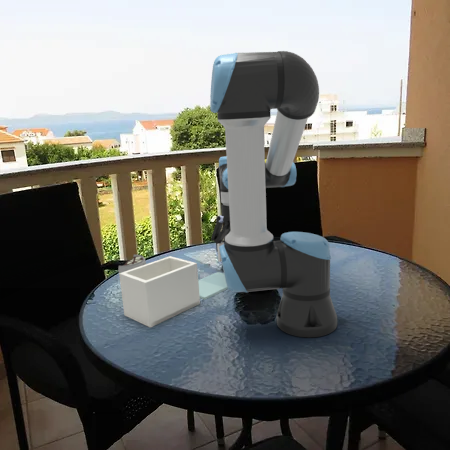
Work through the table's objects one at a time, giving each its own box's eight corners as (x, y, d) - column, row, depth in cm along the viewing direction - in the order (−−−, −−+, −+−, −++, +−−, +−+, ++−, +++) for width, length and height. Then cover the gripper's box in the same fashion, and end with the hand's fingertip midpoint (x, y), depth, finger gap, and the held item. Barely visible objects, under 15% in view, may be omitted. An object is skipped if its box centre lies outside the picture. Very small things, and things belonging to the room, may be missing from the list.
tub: (200, 303, 120) (196, 263, 117) (150, 327, 108) (145, 282, 105) (173, 294, 128) (170, 256, 125) (124, 315, 116) (119, 273, 113)
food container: (139, 297, 128) (136, 266, 125) (121, 296, 129) (117, 266, 127) (154, 282, 139) (151, 254, 137) (137, 281, 141) (134, 254, 138)
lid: (255, 275, 140) (254, 256, 138) (205, 300, 123) (203, 278, 121) (229, 268, 148) (228, 250, 146) (178, 290, 131) (176, 270, 129)
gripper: (269, 204, 130) (272, 268, 135) (213, 198, 147) (217, 255, 152) (254, 208, 125) (257, 274, 130) (198, 202, 141) (202, 260, 146)
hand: (236, 264), depth 141 cm, fingers open, 13 cm apart
